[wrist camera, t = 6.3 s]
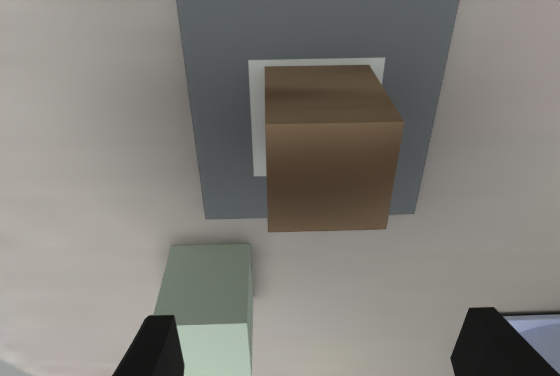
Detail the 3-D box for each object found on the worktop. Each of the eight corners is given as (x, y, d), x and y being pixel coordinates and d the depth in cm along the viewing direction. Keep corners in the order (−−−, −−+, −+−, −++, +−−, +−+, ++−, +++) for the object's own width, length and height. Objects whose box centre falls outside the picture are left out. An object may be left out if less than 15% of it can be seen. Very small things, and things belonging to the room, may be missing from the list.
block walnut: (358, 155, 19) (386, 229, 15) (267, 157, 19) (267, 232, 15) (369, 64, 17) (404, 121, 12) (264, 66, 16) (265, 124, 12)
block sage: (253, 296, 24) (251, 378, 20) (182, 298, 24) (165, 381, 20) (249, 243, 22) (246, 323, 18) (171, 245, 22) (150, 326, 18)
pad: (411, 208, 21) (414, 214, 21) (206, 214, 21) (205, 220, 21) (457, -15, 15) (462, -12, 15) (177, -10, 15) (175, -8, 15)
